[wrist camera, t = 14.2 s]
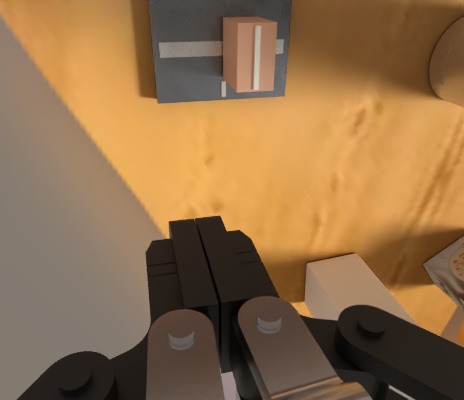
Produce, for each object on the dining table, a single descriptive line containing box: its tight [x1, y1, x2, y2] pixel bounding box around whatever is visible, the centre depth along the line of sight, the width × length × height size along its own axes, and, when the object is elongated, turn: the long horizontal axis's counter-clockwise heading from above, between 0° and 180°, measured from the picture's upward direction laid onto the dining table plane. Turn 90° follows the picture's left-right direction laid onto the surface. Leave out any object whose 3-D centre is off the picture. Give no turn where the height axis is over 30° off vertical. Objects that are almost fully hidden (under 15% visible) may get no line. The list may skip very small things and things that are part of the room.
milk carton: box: [305, 253, 418, 400], centre depth 45 cm, size 7×7×19 cm
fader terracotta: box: [223, 17, 277, 93], centre depth 32 cm, size 3×5×5 cm, turn 179°
